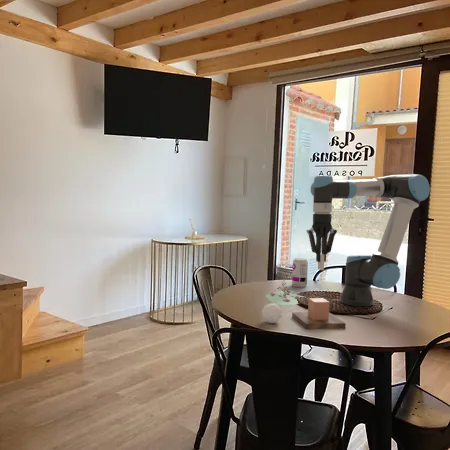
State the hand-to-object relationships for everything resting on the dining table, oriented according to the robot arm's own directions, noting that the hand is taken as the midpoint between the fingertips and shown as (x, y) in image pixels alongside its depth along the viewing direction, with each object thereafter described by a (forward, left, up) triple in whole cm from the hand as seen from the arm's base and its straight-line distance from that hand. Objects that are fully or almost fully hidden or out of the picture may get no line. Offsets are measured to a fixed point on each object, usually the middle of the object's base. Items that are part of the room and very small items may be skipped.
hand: (320, 269), depth 186 cm
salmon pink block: (+4, +9, -18) cm, 20 cm away
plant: (+5, -29, -21) cm, 36 cm away
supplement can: (-13, -59, -20) cm, 64 cm away
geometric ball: (+23, +8, -20) cm, 31 cm away
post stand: (+4, +9, -20) cm, 22 cm away
